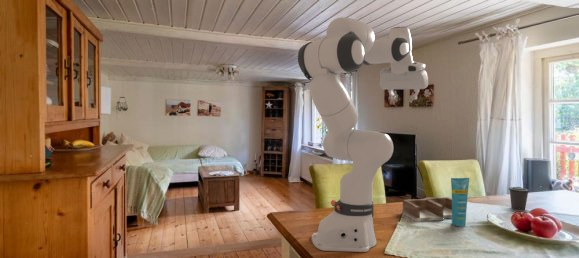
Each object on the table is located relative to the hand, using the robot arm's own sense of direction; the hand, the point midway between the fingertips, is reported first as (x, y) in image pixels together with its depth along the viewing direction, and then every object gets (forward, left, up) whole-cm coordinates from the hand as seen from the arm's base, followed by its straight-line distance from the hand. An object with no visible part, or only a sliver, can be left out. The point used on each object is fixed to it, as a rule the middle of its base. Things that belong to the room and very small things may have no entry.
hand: (404, 99), depth 138 cm
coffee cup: (+61, +5, -51) cm, 80 cm away
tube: (+18, -13, -51) cm, 56 cm away
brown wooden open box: (+9, -1, -51) cm, 52 cm away
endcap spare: (+20, +1, -51) cm, 55 cm away
